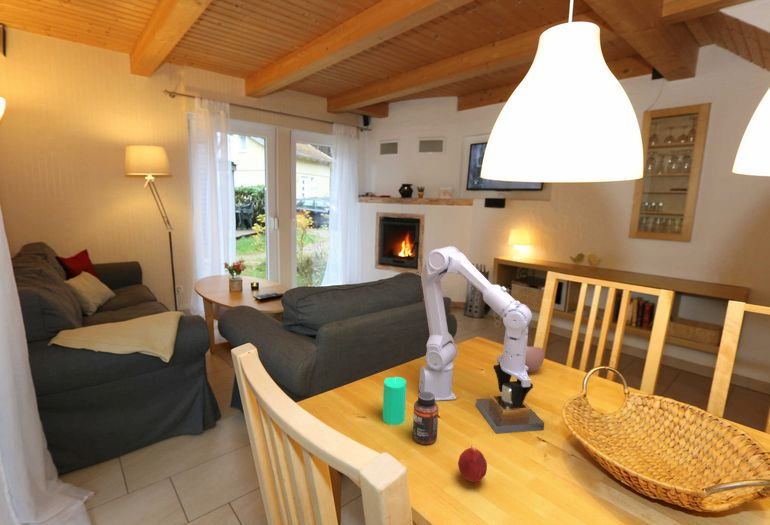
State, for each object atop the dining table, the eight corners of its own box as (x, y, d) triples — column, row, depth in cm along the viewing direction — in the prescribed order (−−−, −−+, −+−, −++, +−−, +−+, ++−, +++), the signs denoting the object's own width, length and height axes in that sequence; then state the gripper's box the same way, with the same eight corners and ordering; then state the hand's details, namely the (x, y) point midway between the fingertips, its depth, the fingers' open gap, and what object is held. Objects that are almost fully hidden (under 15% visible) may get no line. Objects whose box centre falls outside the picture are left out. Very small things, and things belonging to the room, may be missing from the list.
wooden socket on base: (496, 433, 97) (497, 417, 96) (475, 405, 109) (477, 391, 109) (543, 430, 99) (545, 414, 98) (518, 402, 112) (519, 388, 111)
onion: (490, 480, 81) (493, 446, 79) (476, 495, 77) (480, 459, 75) (466, 466, 85) (468, 434, 83) (451, 480, 80) (454, 446, 79)
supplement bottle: (436, 431, 97) (439, 390, 95) (437, 447, 91) (440, 403, 89) (412, 429, 97) (414, 388, 95) (411, 444, 92) (414, 400, 89)
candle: (407, 414, 104) (409, 373, 102) (402, 427, 98) (404, 383, 96) (385, 410, 106) (387, 369, 103) (379, 422, 100) (380, 379, 98)
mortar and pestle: (535, 363, 138) (538, 333, 136) (547, 379, 126) (551, 346, 124) (501, 362, 139) (504, 331, 137) (510, 377, 127) (514, 345, 125)
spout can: (505, 415, 101) (507, 391, 100) (497, 406, 106) (499, 382, 104) (527, 413, 102) (529, 389, 101) (518, 404, 107) (520, 381, 105)
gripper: (544, 362, 94) (538, 413, 97) (515, 340, 108) (510, 384, 111) (517, 363, 93) (512, 414, 96) (491, 340, 107) (487, 386, 110)
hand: (509, 398), depth 103 cm, fingers open, 7 cm apart
